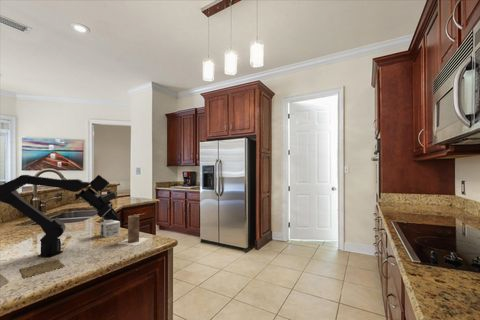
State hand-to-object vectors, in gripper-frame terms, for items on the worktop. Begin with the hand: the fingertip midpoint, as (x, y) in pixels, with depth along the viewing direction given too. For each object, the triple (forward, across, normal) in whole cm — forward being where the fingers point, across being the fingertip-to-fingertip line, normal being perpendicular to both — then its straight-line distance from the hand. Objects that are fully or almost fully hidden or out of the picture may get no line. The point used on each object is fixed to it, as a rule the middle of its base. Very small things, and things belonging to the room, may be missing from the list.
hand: (118, 218), depth 114 cm
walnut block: (+14, 0, +4) cm, 15 cm away
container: (+7, +20, +12) cm, 24 cm away
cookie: (-9, -16, +28) cm, 34 cm away
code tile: (+14, 0, +4) cm, 15 cm away
